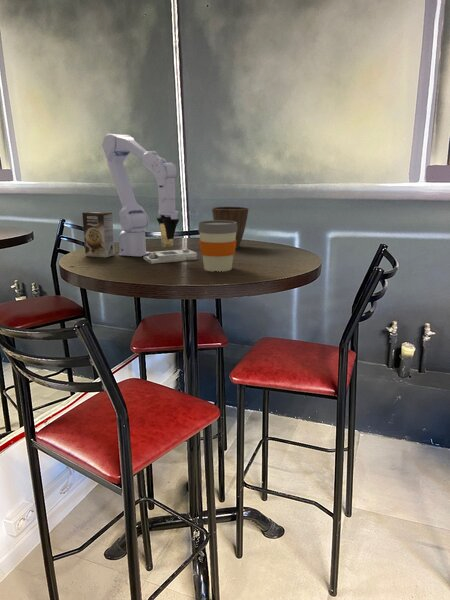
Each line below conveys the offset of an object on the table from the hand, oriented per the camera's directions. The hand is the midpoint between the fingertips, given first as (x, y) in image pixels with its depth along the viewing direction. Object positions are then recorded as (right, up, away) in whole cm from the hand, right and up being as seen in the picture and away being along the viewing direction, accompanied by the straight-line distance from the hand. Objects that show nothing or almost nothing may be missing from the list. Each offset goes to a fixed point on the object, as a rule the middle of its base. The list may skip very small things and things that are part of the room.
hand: (168, 238), depth 166 cm
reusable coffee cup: (+18, -12, -13) cm, 25 cm away
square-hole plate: (0, -7, +2) cm, 8 cm away
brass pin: (0, -3, +1) cm, 3 cm away
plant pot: (+22, 0, +28) cm, 36 cm away
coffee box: (-27, -5, +10) cm, 29 cm away
